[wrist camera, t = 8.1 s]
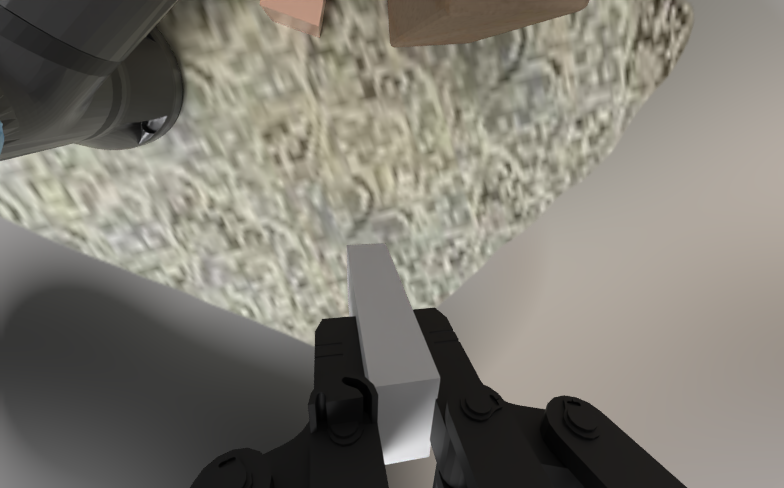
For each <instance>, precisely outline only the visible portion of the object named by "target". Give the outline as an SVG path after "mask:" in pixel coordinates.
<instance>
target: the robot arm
mask: <svg viewBox="0 0 784 488" xmlns="http://www.w3.org/2000/svg"><path fill="white" fill-rule="evenodd" d="M177 1H178V0H0V161H3V160H7V159H11V158H15V157H19V156H23V155H27V154H32V153H36V152H40V151H44V150H48V149H52V148H56V147H60V146H64V145H69V144H73V143H74V144H78V145H82V146H87V147H91V148H96V149H104V150H124V149H131V148H135V147H138V146H141V145H145V144H147V143H150V142H152V141H155V140H156V139H158V138H160V137H161V136H163V135H164V134H165V133H166V132H167V131H168V130H169V129H170V128H171V127H172V125H173V124H174V122H175V121H176V119H177V117H178V115H179V112H180V109H181V105H182V97H183V87H182V79H181V74H180V70H179V67H178V64H177V61H176V59H175V56H174V54H173V52H172V50H171V48H170V47H169V45H168V43H167V42H166V40H165V39H164V37H163V36H162V34H161V33H160V32H159V30H158V29H157V28H156V27H155V26H156V25H157V23H158V22H159V21H160V20H161V19H162V18H163V17H164V16H165V15H166V14H167V12H168V11H169V10H170V9H171V8H172V7H173V6H174V5H175V4H176V2H177ZM347 275H348V307H349V314H350V317H340V318H329V319H322V321H321V322H320V324H319V326H318V327H317V329H316V331H315V367H314V390H313V391H312V393H311V395H310V399H309V403H308V410H309V422H308V424H307V425H306V427H305V428H304V429H303V431H302V432H300V433H299V434H298V435H297V436H296V437H295V438H294V439H292V440H291V441H289V442H287V443H286V444H284V445H282V446H280V447H278V448H275V449H273V450H271V451H269V452H267V453H265V454H262V453H261V452H260V451H256V450H253V449H250V448H243V449H235V450H232V451H229V452H227V453H225V454H223V455H220V456H218V457H217V458H216V459H215V460H213V461H212V462H211V463H210V464H208V465H207V466H206V467H205V468H204V469H203V470H202V471H201V473H200V474H199V475H198V477H197V478H196V479H195V481H194V482H193V484H192V485H191V487H190V488H389V487H388V481H387V475H386V469H385V465H386V464H392V463H397V462H402V461H408V460H413V459H418V458H424V457H429V453H430V445H432V448H433V452H434V455H435V459H436V462H437V464H436V470H435V476H434V483H433V488H687V487H686V486H685V485H683V484H682V483H681V482H680V481H679V480H678V479H677V478H676V477H674V476H673V475H672V474H671V473H670V472H669V471H667V470H666V469H665V468H664V467H663V466H662V465H661V464H660V463H659V462H657V461H656V460H655V459H654V458H653V457H652V456H651V455H650V454H648V453H647V452H646V451H645V450H644V449H643V448H642V447H640V446H639V445H638V444H637V443H636V442H635V441H634V440H633V439H631V438H630V437H629V436H628V435H627V434H626V433H625V432H623V431H622V430H621V429H620V428H619V427H618V426H617V425H616V424H614V423H613V422H612V421H611V420H610V419H609V418H608V417H607V416H605V415H604V414H603V413H602V412H601V411H599V410H598V409H597V408H595V407H594V406H592V405H591V404H590V403H588V402H585V401H583V400H581V399H579V398H576V397H570V396H559V397H554V398H553V399H552V400H551V401H550V402H549V403H548V404H547V407H546V409H539V408H533V407H526V406H520V405H515V404H511V403H508V402H506V401H504V400H503V399H502V398H501V396H500V395H499V394H498V393H497V392H495V391H494V390H492V389H491V388H490V387H488V386H485V385H483V383H482V382H481V381H480V379H479V377H478V375H477V373H476V371H475V369H474V368H473V366H472V364H471V362H470V360H469V358H468V356H467V355H466V353H465V351H464V349H463V347H462V345H461V343H460V342H459V341H458V338H457V336H456V334H455V332H453V329H452V327H451V325H450V323H449V321H448V319H447V317H445V316H444V315H443V314H442V313H441V312H439V311H438V310H437V309H436V308H426V309H415V310H413V309H412V307H411V304H410V302H409V300H408V297H407V295H406V292H405V290H404V287H403V285H402V282H401V280H400V278H399V275H398V273H397V270H396V268H395V265H394V263H393V260H392V258H391V255H390V253H389V251H388V248H387V246H386V243H381V244H361V245H347Z"/></svg>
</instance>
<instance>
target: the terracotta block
mask: <svg viewBox="0 0 784 488" xmlns="http://www.w3.org/2000/svg"><path fill="white" fill-rule="evenodd" d="M325 5H326V0H260V6H261V7H262V8H263V9H264V11H265V12H266V13H267V15H268V16H269V17H270V18H271V20H272V21H274V22H276V23H279V24H282V25H285V26H288V27H290V28H293V29H296V30H299V31H302V32H304V33H307V34H310V35H313V36H316V37H318V38H320V33H321V27H322V22H323V16H324V10H325Z"/></svg>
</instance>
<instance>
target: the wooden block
mask: <svg viewBox="0 0 784 488" xmlns="http://www.w3.org/2000/svg"><path fill="white" fill-rule="evenodd" d="M588 2H589V0H388V16H389V33H390V44H391V46H393V47H410V46H427V45H445V44H463V43H471V42H474V41H478V40H481V39H485V38H488V37H491V36H495V35H498V34H502V33H505V32H509V31H512V30H516V29H519V28H522V27H526V26H529V25H533V24H536V23H540V22H543V21H547V20H550V19H553V18H557V17H560V16H564V15H567V14H571V13H574V12H578V11H580V10H582V9H584V8H585V7H586V6H587V5H588Z"/></svg>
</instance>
